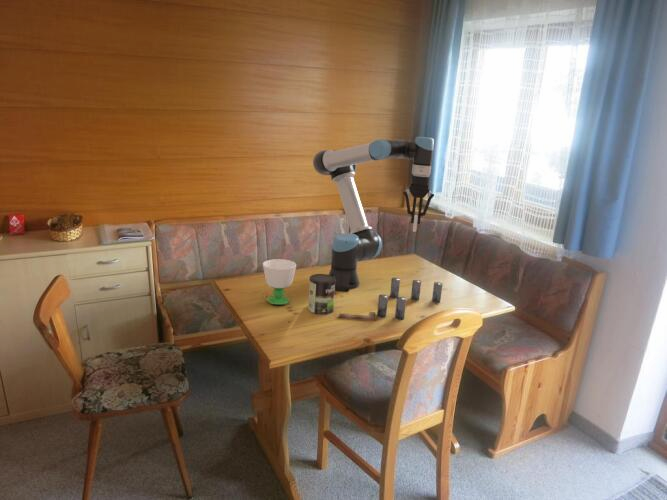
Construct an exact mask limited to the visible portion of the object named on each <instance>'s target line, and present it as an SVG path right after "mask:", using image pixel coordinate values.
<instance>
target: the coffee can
mask: <svg viewBox="0 0 667 500" xmlns="http://www.w3.org/2000/svg"><path fill="white" fill-rule="evenodd" d="M335 282H336V278H335V277H334V276H331V275H329V274H326V273H316V274H315V273H314V274H312V275H310V276H309V284H308V285H309V286H308V289H309V290H308V309H307V310H308V312H310V313H311V314H314V315H320V316H321V315H329V314H332V313H334V311H335V310H334V308H335V296H336V295H335V294H336V293H335V292H336V290H335Z"/></svg>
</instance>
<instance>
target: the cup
mask: <svg viewBox="0 0 667 500" xmlns="http://www.w3.org/2000/svg"><path fill="white" fill-rule="evenodd" d="M262 267H263V272H264V277H265V278H264V279H265V283H266V285H267V286H269V287H270V288H272V289H273V291H272V294H273V296H270V297H268V298H267V302H268V303H269V304H273V305H285V304H288V303H290V298H289V297H286V296H284V295H285V290H284V289H287V288H289V287H290V286H291V285H292V284H293V281H294V277H295V272H296V269H297V263H296V262H294V261H293V260H289V259H283V258H282V259H281V258H279V259H278V258H276V259H275V258H274V259H268V260H265V261H263V262H262Z"/></svg>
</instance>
